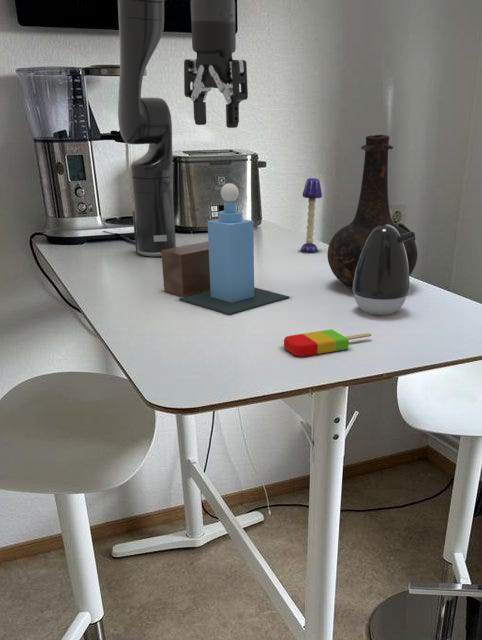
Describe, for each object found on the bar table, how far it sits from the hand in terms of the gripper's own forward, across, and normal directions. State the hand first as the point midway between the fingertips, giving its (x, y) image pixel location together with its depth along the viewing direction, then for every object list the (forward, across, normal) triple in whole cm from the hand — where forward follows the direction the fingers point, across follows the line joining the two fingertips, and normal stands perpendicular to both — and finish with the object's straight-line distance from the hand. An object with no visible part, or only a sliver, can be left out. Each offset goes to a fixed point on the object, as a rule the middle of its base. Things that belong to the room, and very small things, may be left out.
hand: (216, 126), depth 127 cm
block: (+30, +3, +4) cm, 30 cm away
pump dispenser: (+29, -33, -9) cm, 45 cm away
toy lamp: (+30, +10, -39) cm, 50 cm away
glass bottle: (+29, -21, -22) cm, 42 cm away
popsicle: (+29, -39, +12) cm, 50 cm away
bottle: (+28, -3, +4) cm, 29 cm away
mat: (+29, -8, +4) cm, 31 cm away
